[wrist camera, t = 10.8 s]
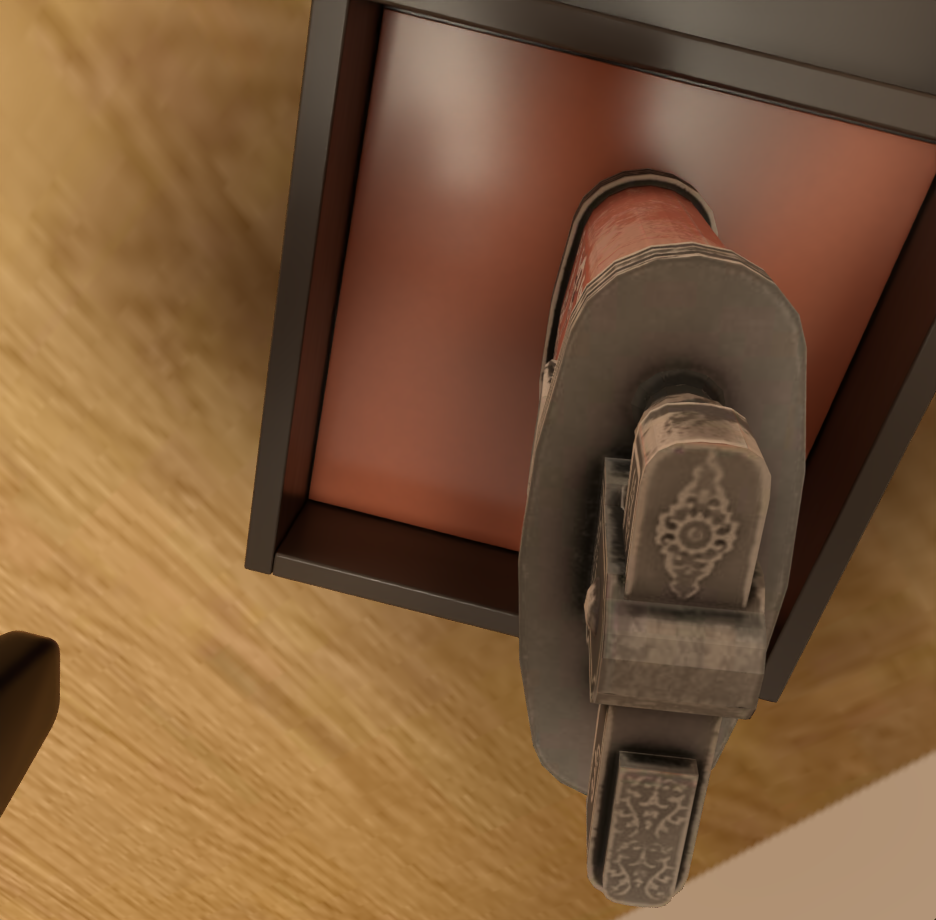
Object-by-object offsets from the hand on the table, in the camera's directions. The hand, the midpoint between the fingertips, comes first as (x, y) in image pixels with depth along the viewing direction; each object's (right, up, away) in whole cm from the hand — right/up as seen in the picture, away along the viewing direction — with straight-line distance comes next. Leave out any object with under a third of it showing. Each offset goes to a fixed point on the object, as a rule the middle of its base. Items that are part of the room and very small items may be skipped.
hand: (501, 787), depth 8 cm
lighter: (+3, +5, +9) cm, 11 cm away
